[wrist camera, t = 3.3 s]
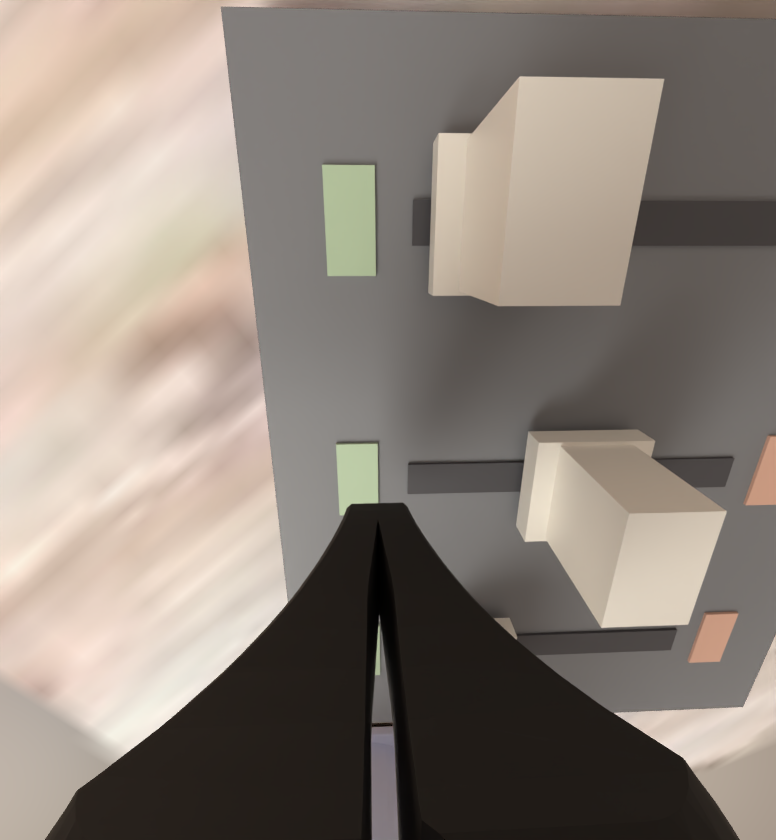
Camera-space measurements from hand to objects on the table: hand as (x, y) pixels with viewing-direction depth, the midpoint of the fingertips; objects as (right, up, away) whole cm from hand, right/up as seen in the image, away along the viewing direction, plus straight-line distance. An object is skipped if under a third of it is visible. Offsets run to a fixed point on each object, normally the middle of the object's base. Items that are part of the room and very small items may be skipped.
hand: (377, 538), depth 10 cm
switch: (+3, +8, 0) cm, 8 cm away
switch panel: (+6, +2, +5) cm, 8 cm away
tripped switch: (+6, +1, +3) cm, 7 cm away
